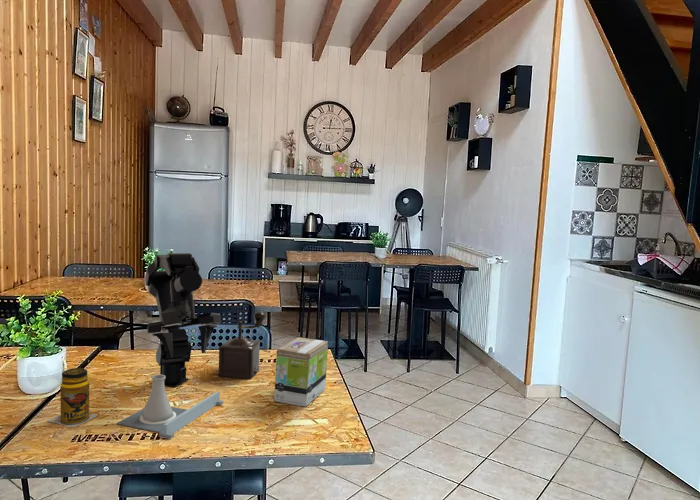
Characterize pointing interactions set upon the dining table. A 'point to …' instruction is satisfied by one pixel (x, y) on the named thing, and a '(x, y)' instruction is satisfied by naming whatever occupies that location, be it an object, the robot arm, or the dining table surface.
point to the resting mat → (140, 423)
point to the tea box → (300, 371)
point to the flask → (157, 401)
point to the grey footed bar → (190, 415)
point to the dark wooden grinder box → (240, 354)
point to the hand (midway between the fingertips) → (187, 355)
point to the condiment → (74, 398)
